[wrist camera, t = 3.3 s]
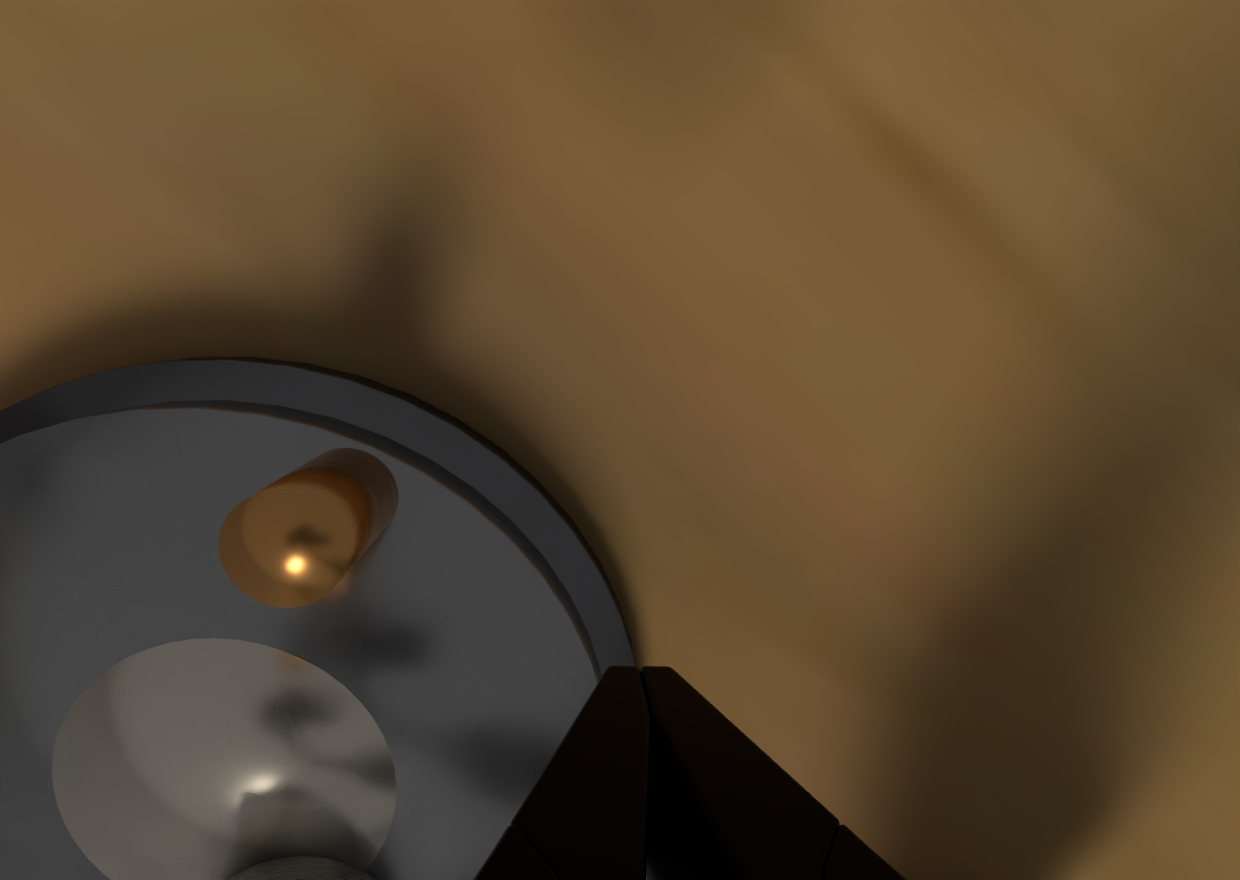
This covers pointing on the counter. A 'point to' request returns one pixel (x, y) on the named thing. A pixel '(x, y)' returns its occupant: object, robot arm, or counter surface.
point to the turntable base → (372, 412)
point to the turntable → (266, 650)
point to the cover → (302, 870)
